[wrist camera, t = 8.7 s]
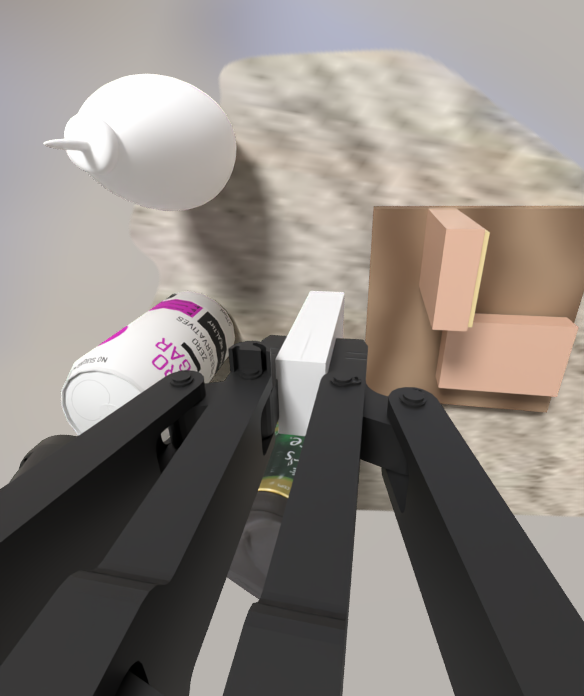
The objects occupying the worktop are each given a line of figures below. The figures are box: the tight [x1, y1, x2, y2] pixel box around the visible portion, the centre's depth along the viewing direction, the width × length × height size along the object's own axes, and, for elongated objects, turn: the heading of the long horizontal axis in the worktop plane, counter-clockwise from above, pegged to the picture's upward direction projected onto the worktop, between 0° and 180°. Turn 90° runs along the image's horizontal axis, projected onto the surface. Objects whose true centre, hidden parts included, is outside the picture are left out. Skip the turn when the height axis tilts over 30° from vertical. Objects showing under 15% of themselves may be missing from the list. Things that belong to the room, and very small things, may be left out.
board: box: [365, 206, 584, 412], centre depth 33 cm, size 16×17×2 cm
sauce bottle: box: [44, 74, 237, 211], centre depth 24 cm, size 8×8×18 cm
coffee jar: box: [227, 422, 305, 599], centre depth 34 cm, size 10×8×19 cm
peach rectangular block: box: [436, 313, 578, 397], centre depth 32 cm, size 2×6×9 cm
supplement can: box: [61, 291, 235, 442], centre depth 33 cm, size 8×8×15 cm
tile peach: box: [419, 209, 490, 331], centre depth 27 cm, size 2×6×9 cm, turn 1°
